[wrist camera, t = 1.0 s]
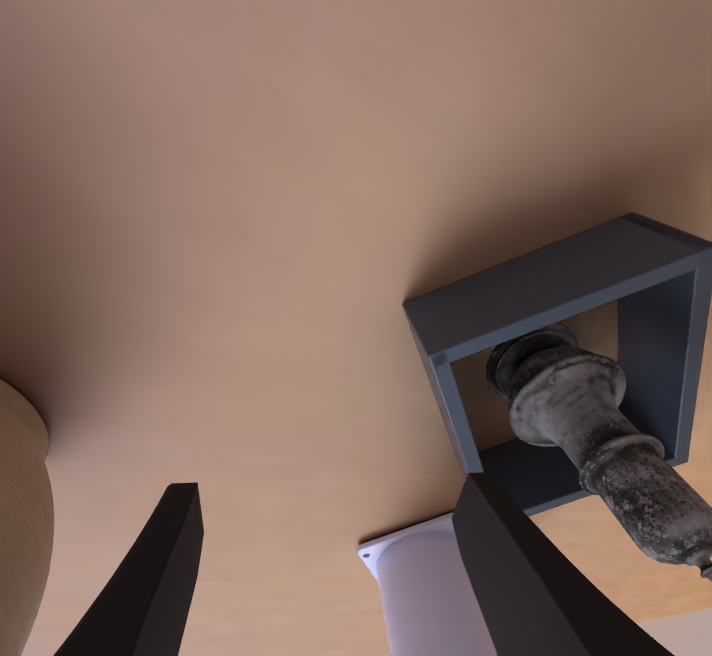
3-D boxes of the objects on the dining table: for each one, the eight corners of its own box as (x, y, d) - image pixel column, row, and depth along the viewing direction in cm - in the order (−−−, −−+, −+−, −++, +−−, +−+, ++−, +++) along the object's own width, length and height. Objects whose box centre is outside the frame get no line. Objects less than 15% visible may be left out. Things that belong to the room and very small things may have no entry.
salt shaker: (527, 300, 21) (754, 511, 11) (603, 339, 23) (854, 547, 13) (461, 384, 23) (594, 622, 13) (535, 412, 25) (700, 636, 15)
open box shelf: (630, 406, 26) (688, 462, 22) (460, 467, 27) (488, 530, 23) (633, 211, 19) (719, 243, 15) (401, 303, 20) (427, 355, 16)
